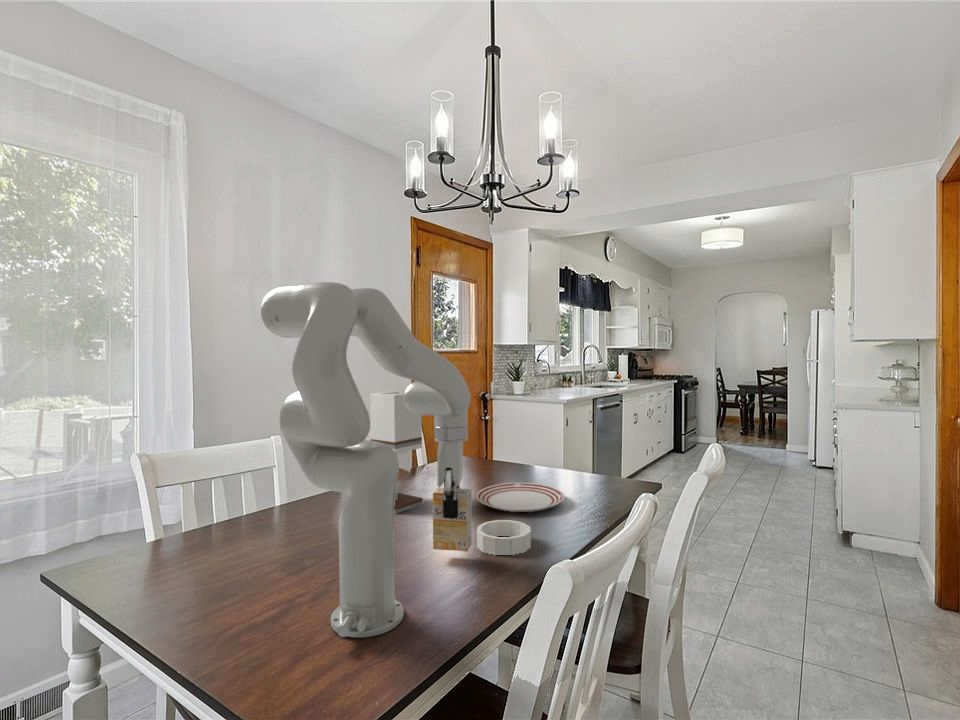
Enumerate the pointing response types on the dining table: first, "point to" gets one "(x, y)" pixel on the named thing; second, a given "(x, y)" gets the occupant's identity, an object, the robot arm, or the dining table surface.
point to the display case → (397, 437)
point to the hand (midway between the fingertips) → (452, 512)
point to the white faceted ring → (503, 545)
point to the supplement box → (452, 522)
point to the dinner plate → (520, 497)
